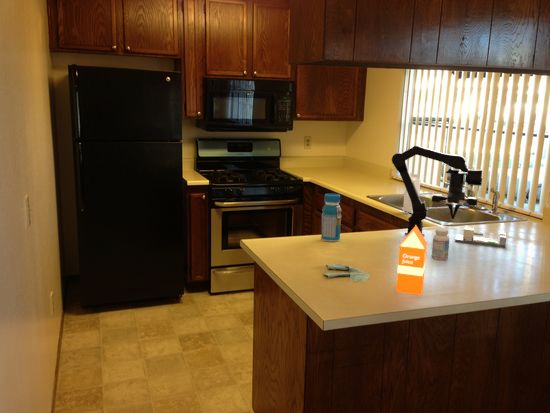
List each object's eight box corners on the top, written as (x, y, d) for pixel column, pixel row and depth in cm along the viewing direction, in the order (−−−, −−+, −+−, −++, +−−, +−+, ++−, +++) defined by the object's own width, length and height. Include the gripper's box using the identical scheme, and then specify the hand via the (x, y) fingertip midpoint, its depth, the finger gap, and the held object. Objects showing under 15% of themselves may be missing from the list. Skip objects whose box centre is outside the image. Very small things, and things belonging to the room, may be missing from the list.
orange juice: (395, 291, 155) (400, 229, 151) (399, 282, 163) (403, 223, 159) (421, 294, 152) (426, 231, 148) (423, 285, 160) (428, 225, 157)
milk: (411, 214, 274) (414, 174, 269) (402, 212, 278) (405, 173, 274) (418, 213, 277) (421, 174, 273) (409, 211, 282) (412, 172, 278)
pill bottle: (442, 255, 195) (445, 227, 193) (450, 260, 189) (453, 231, 187) (428, 255, 194) (430, 228, 192) (436, 260, 188) (438, 231, 186)
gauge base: (455, 242, 216) (455, 232, 215) (456, 236, 225) (457, 227, 224) (505, 247, 208) (506, 237, 207) (505, 242, 217) (506, 232, 216)
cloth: (372, 286, 161) (372, 279, 160) (305, 281, 164) (305, 274, 164) (371, 267, 180) (371, 261, 180) (311, 263, 184) (312, 257, 184)
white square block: (462, 239, 214) (463, 230, 213) (463, 235, 221) (464, 226, 221) (482, 241, 211) (483, 232, 210) (483, 237, 218) (484, 228, 217)
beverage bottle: (324, 242, 211) (326, 196, 207) (318, 237, 219) (320, 193, 215) (342, 241, 212) (345, 196, 209) (336, 236, 220) (338, 192, 217)
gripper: (431, 184, 213) (428, 219, 216) (478, 188, 205) (474, 224, 208) (434, 181, 223) (431, 215, 226) (479, 184, 215) (475, 219, 218)
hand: (452, 218), depth 219 cm, fingers closed
